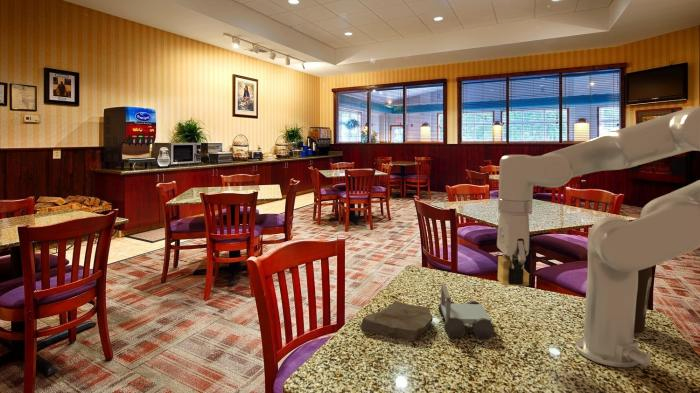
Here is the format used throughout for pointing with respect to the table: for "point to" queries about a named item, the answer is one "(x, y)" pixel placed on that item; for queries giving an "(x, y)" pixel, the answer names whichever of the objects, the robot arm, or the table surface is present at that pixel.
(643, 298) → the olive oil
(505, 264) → the orange block
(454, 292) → the table surface
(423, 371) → the table surface
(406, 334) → the marble piece
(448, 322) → the trolley
